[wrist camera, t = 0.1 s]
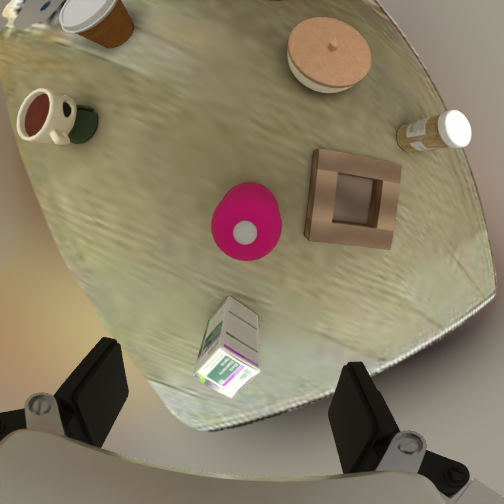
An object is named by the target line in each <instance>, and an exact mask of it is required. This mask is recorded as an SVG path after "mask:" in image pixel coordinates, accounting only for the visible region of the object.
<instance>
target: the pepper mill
mask: <svg viewBox="0 0 504 504" xmlns="http://www.w3.org/2000/svg"><path fill="white" fill-rule="evenodd" d="M211 229H212V235H213V238H214V240H215V242H216V244H217V246H218V247H219V248H220V249H221V250H222V251H223V252H224V253H225V254H226V255H228V256H230V257H232V258H234V259H237V260H242V261H252V260H256V259H260V258H262V257H264V256H265V255H267V254H268V253H269V252H271V250H272V249H273V248H274V247H275V246H276V244H277V242H278V240H279V238H280V235H281V230H282V222H281V217H280V213H279V211H278V204H277V201H276V199H275V197H274V195H273V194H272V193H271V192H270V191H269V190H268V189H267V188H266V187H264V186H262V185H260V184H256V183H243V184H240V185H237V186H235V187H234V188H232V189H231V190H230V191H229V192H228V193H227V194H226V196H225V197H224V199H223V200H222V201H221V202H220V203H219V205H218V206H217V208H216V210H215V211H214V214H213V218H212V222H211Z"/></svg>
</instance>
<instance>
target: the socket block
mask: <svg viewBox="0 0 504 504" xmlns="http://www.w3.org/2000/svg"><path fill="white" fill-rule="evenodd" d="M401 168H402V165H400V164H396V163H392V162H388V161H383V160H379V159H374V158H369V157H364V156H359V155H354V154H349V153H343V152H338V151H332V150H326V149H317V150H315V151H313V161H312V171H311V181H310V190H309V199H308V208H307V216H306V224H305V232H304V235H305V237H306V238H307V239H308V240H309V241H316V242H325V243H334V244H344V245H353V246H362V247H371V248H379V249H388V250H390V248H391V243H392V237H393V231H394V225H395V218H396V212H397V204H398V196H399V188H400V179H401Z"/></svg>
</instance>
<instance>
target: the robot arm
mask: <svg viewBox="0 0 504 504" xmlns="http://www.w3.org/2000/svg"><path fill="white" fill-rule="evenodd" d="M128 392H129V390H128V385H127V380H126V374H125V369H124V363H123V358H122V351H121V345H120V344H119V343H117V341H116V340H115V339H112V338H107V337H103V338H102V339H101V340H100V341H99V342H98V343H97V344H96V345H95V347H94V348H93V349H92V350H91V351H90V352H89V354H88V355H87V356H86V357H85V358H84V359H83V360H82V362H81V363H80V364H79V365H78V366H77V367H76V369H75V370H74V371H73V372H72V373H71V375H70V376H69V377H68V378H67V379H66V381H65V382H64V383H63V384H62V385H61V387H60V388H59V389H58V391H57V392H56V393H55V394H54V396H52V395H50V394H48V393H36V394H33V395H31V396H30V397H29V398H28V399H27V400H26V402H25V408H24V409H19V410H14V411H8V412H2V413H0V504H504V498H503V497H502V496H501V495H499V494H498V493H496V492H494V491H493V490H492V489H490V488H489V487H487V486H485V485H484V484H483V483H481V482H480V481H478V480H477V479H475V478H474V479H473V480H471V479H469V477H470V474H469V471H468V469H467V467H466V466H464V465H463V464H462V463H459V462H456V461H454V460H451V459H448V458H446V457H443V456H440V455H438V454H435V453H433V452H430V451H428V450H426V448H427V444H426V440H425V439H424V438H423V436H421V435H420V434H418V433H417V432H414V431H410V430H407V431H401V432H400V430H399V428H398V426H397V424H396V422H395V420H394V418H393V416H392V414H391V412H390V410H389V408H388V406H387V405H386V402H385V400H384V398H383V396H382V395H381V393H380V392H379V391H378V390H377V389H376V387H375V385H374V383H373V381H372V379H371V377H370V375H369V373H368V372H367V370H366V368H365V366H364V364H363V363H362V362H348V364H347V365H344V366H343V368H342V372H341V375H340V378H339V381H338V384H337V387H336V390H335V393H334V396H333V399H332V402H331V405H330V408H329V411H328V417H329V421H330V425H331V428H332V432H333V436H334V440H335V443H336V447H337V451H338V455H339V459H340V463H341V467H342V470H343V474H339V475H327V476H310V477H253V476H236V475H224V474H215V473H208V472H200V471H193V470H187V469H181V468H176V467H170V466H165V465H161V464H156V463H152V462H148V461H144V460H139V459H135V458H132V457H128V456H125V455H121V454H118V453H115V452H111V451H108V450H105V449H101V447H102V445H103V443H104V441H105V439H106V437H107V435H108V433H109V432H110V430H111V428H112V426H113V424H114V422H115V420H116V418H117V416H118V414H119V412H120V410H121V409H122V407H123V405H124V403H125V401H126V399H127V397H128Z"/></svg>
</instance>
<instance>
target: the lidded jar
mask: <svg viewBox="0 0 504 504" xmlns="http://www.w3.org/2000/svg"><path fill="white" fill-rule="evenodd" d="M287 57H288V63H289V66H290V69H291V71H292V73H293V74H294V76H295V77H296V78H297V79H298V81H300V82H301V83H302V84H303V85H305V86H306V87H308V88H310V89H312V90H315V91H317V92H322V93H336V92H341V91H344V90H346V89H348V88H350V87H352V86H354V85H355V84H356V83H358V82H360V81H361V80H362V79H363V78H364V77H365V76H366V75H367V73H368V72H369V70H370V67H371V52H370V49H369V46H368V44H367V43H366V41H365V39H364V38H363V37H362V36H361V34H360V33H359V32H358V31H356V30H355V29H354V28H353V27H351V26H350V25H348V24H346V23H344V22H342V21H340V20H337V19H333V18H328V17H315V18H310V19H306V20H304V21H302V22H300V23H299V24H298V25H296V26H295V28H294V29H293V30H292V32H291V33H290V36H289V39H288V50H287Z"/></svg>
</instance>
